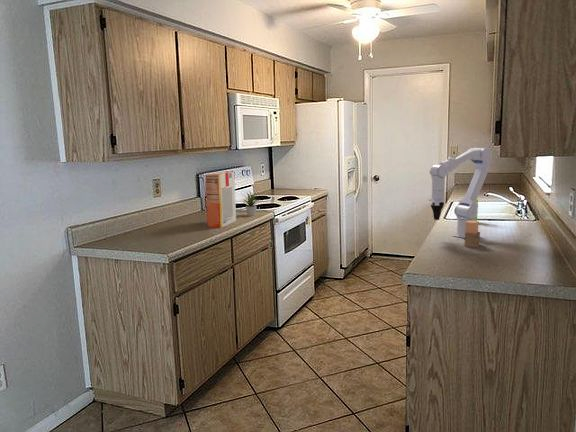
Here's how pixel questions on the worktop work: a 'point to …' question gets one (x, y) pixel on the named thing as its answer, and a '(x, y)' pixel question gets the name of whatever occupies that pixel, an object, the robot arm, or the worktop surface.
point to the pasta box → (220, 198)
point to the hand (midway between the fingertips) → (437, 218)
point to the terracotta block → (472, 227)
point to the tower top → (472, 236)
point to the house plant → (251, 204)
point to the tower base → (471, 243)
